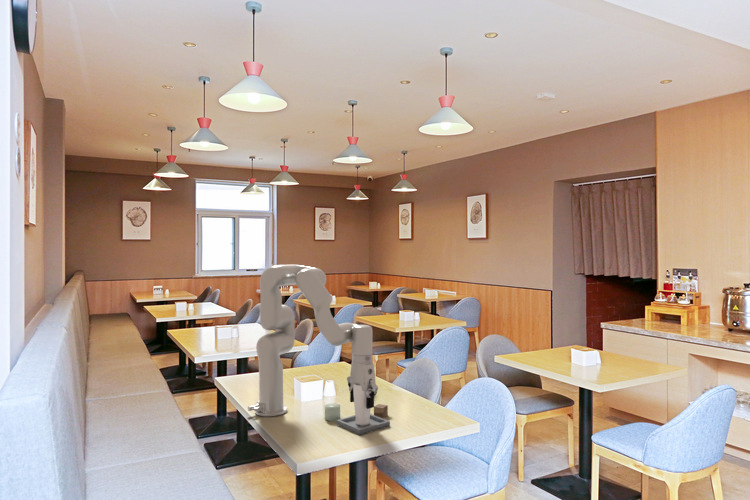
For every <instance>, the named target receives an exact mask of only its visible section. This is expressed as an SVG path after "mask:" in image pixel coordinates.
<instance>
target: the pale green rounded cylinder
mask: <svg viewBox="0 0 750 500" xmlns="http://www.w3.org/2000/svg"><path fill="white" fill-rule="evenodd" d="M339 419H341V404H339V403H327V404H325V405H324V420H325V421H327V422H337V420H339Z"/></svg>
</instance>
